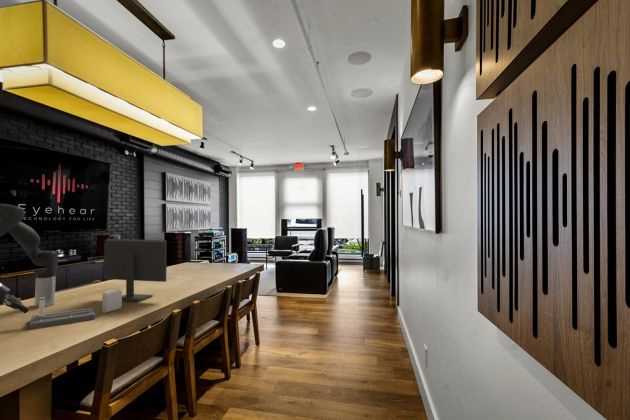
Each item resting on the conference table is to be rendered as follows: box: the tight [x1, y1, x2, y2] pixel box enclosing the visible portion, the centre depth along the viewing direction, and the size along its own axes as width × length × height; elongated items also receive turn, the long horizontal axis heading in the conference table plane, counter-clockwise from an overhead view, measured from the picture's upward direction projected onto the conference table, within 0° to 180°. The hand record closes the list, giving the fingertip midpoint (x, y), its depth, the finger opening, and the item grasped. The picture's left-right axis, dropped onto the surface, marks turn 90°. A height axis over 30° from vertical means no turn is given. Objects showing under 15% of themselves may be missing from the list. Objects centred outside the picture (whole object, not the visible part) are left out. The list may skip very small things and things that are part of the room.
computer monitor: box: [103, 238, 168, 303], centre depth 208 cm, size 44×16×40 cm, turn 84°
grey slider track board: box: [28, 307, 96, 330], centre depth 163 cm, size 16×26×4 cm, turn 130°
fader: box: [37, 297, 46, 318], centre depth 157 cm, size 4×3×10 cm
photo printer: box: [101, 288, 123, 314], centre depth 181 cm, size 10×4×12 cm, turn 156°
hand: (27, 311), depth 154 cm, fingers closed
